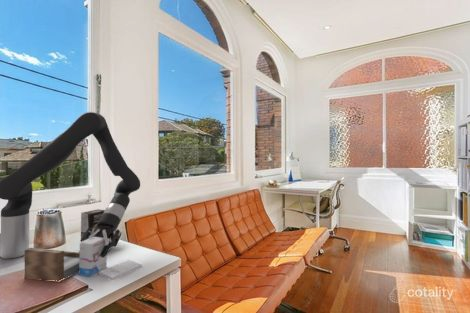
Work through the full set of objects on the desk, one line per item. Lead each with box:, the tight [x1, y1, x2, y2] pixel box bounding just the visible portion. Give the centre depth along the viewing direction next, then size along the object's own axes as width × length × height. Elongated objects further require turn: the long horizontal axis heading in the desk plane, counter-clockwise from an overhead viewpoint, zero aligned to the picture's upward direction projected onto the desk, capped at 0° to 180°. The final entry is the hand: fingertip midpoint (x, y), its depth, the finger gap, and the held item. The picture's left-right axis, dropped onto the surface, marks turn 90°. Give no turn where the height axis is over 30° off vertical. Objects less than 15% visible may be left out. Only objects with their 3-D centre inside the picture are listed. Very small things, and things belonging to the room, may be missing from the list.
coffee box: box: [80, 208, 105, 239], centre depth 121 cm, size 9×6×16 cm
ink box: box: [78, 237, 108, 277], centre depth 95 cm, size 9×5×12 cm, turn 168°
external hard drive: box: [98, 259, 143, 281], centre depth 96 cm, size 2×8×12 cm
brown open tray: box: [24, 247, 80, 281], centre depth 94 cm, size 14×14×10 cm
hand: (91, 255), depth 94 cm, fingers open, 8 cm apart
